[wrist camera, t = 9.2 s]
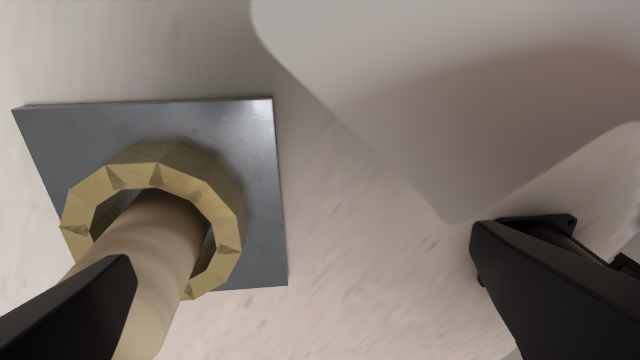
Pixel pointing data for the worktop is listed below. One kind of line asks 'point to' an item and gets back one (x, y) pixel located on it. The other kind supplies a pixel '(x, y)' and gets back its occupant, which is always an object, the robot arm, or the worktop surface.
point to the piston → (151, 264)
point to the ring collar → (169, 176)
